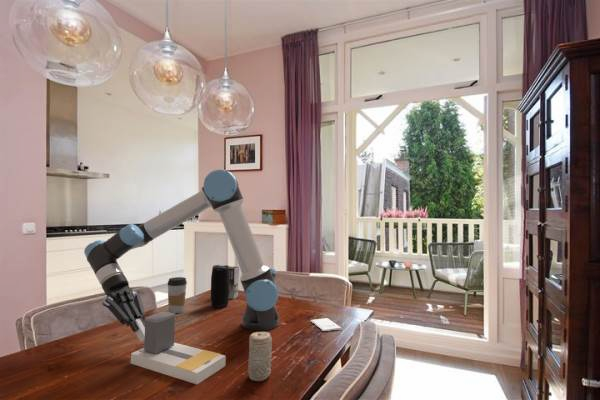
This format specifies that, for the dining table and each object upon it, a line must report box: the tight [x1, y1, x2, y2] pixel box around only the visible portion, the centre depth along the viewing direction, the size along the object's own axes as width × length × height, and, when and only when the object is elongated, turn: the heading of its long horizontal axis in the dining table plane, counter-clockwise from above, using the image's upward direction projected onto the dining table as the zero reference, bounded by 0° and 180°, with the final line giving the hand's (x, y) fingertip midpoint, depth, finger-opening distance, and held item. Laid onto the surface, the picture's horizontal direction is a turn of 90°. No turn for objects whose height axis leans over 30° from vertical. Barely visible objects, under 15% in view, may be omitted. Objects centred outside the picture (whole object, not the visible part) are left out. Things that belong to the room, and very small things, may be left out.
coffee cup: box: [167, 276, 188, 314], centre depth 150 cm, size 8×8×15 cm
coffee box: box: [228, 265, 240, 300], centre depth 177 cm, size 9×6×16 cm
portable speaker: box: [210, 264, 230, 309], centre depth 160 cm, size 9×9×20 cm
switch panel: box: [130, 342, 227, 385], centre depth 99 cm, size 26×12×3 cm, turn 65°
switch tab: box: [143, 310, 176, 354], centre depth 102 cm, size 5×7×10 cm
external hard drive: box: [310, 317, 343, 332], centre depth 135 cm, size 2×8×12 cm
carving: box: [247, 331, 273, 382], centre depth 92 cm, size 6×8×12 cm
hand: (144, 338), depth 105 cm, fingers closed
